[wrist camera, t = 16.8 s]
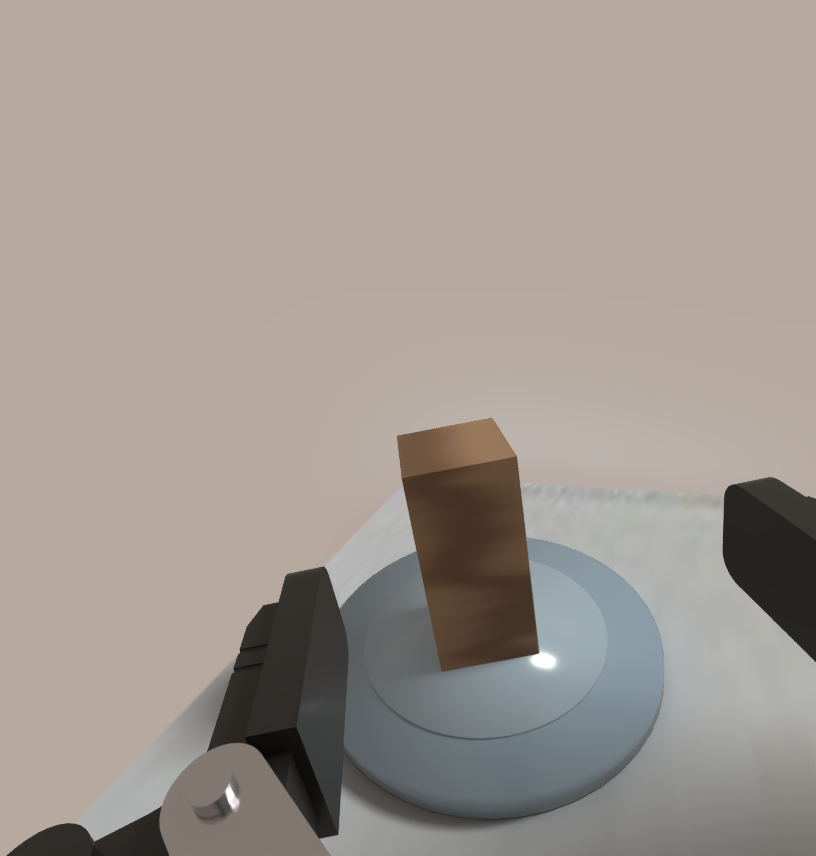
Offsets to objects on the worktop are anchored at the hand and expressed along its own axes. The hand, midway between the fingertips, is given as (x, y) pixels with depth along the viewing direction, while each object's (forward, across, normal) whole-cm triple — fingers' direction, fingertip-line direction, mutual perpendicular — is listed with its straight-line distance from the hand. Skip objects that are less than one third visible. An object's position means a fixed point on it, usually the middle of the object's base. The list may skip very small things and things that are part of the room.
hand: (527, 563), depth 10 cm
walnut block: (+14, 0, +14) cm, 20 cm away
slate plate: (+14, 0, +16) cm, 21 cm away
